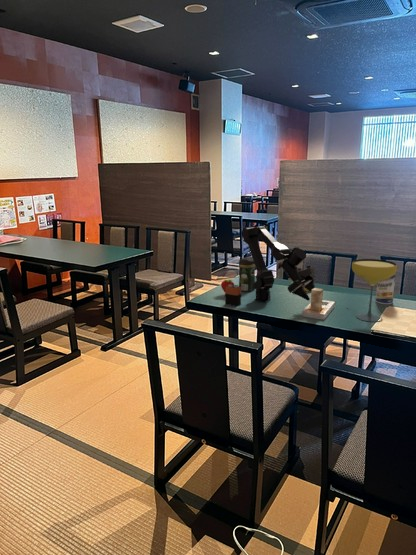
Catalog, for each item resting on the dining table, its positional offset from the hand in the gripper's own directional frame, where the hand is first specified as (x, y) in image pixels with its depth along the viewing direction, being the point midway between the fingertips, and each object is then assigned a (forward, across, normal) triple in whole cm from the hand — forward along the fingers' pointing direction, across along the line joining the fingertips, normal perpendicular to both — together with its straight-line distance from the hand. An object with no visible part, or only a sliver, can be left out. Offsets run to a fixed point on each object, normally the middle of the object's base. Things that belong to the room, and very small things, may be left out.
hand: (313, 297), depth 184 cm
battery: (-20, -10, +32) cm, 39 cm away
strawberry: (-29, +3, +41) cm, 50 cm away
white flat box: (+6, +5, +5) cm, 10 cm away
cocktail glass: (+22, +10, -10) cm, 26 cm away
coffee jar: (-26, +18, +39) cm, 50 cm away
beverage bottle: (+21, +38, -10) cm, 45 cm away
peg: (+7, 0, +4) cm, 8 cm away
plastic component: (-10, +40, +22) cm, 47 cm away
